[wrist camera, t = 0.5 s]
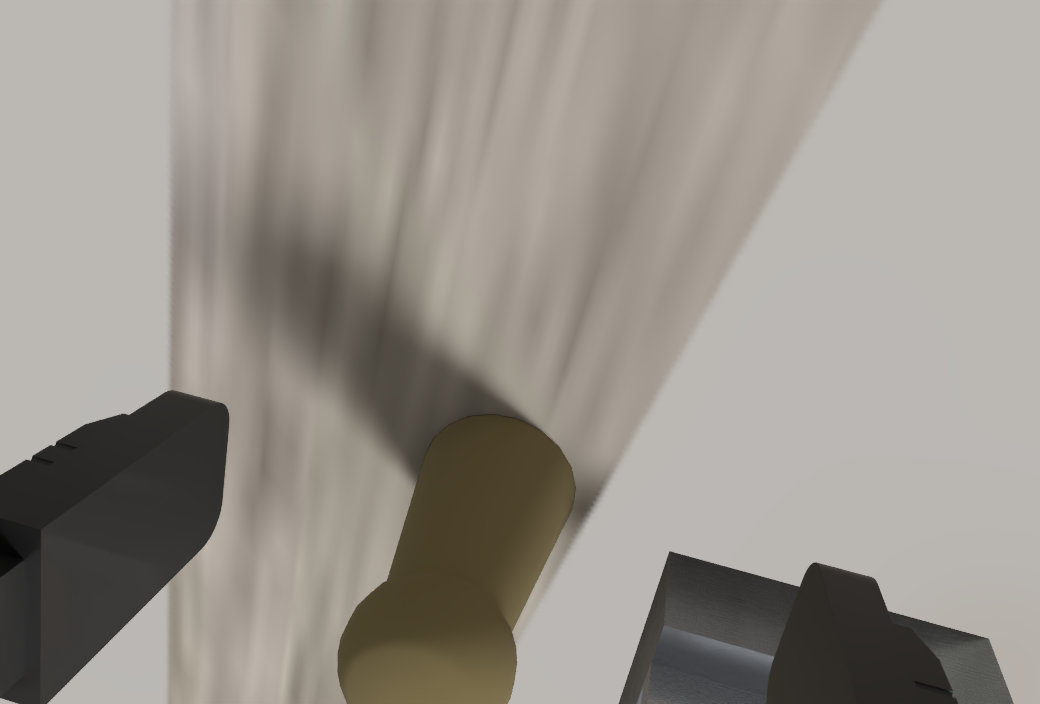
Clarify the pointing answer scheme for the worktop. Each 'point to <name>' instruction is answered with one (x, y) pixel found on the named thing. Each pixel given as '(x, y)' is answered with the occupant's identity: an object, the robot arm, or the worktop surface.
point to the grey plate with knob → (760, 641)
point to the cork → (460, 569)
